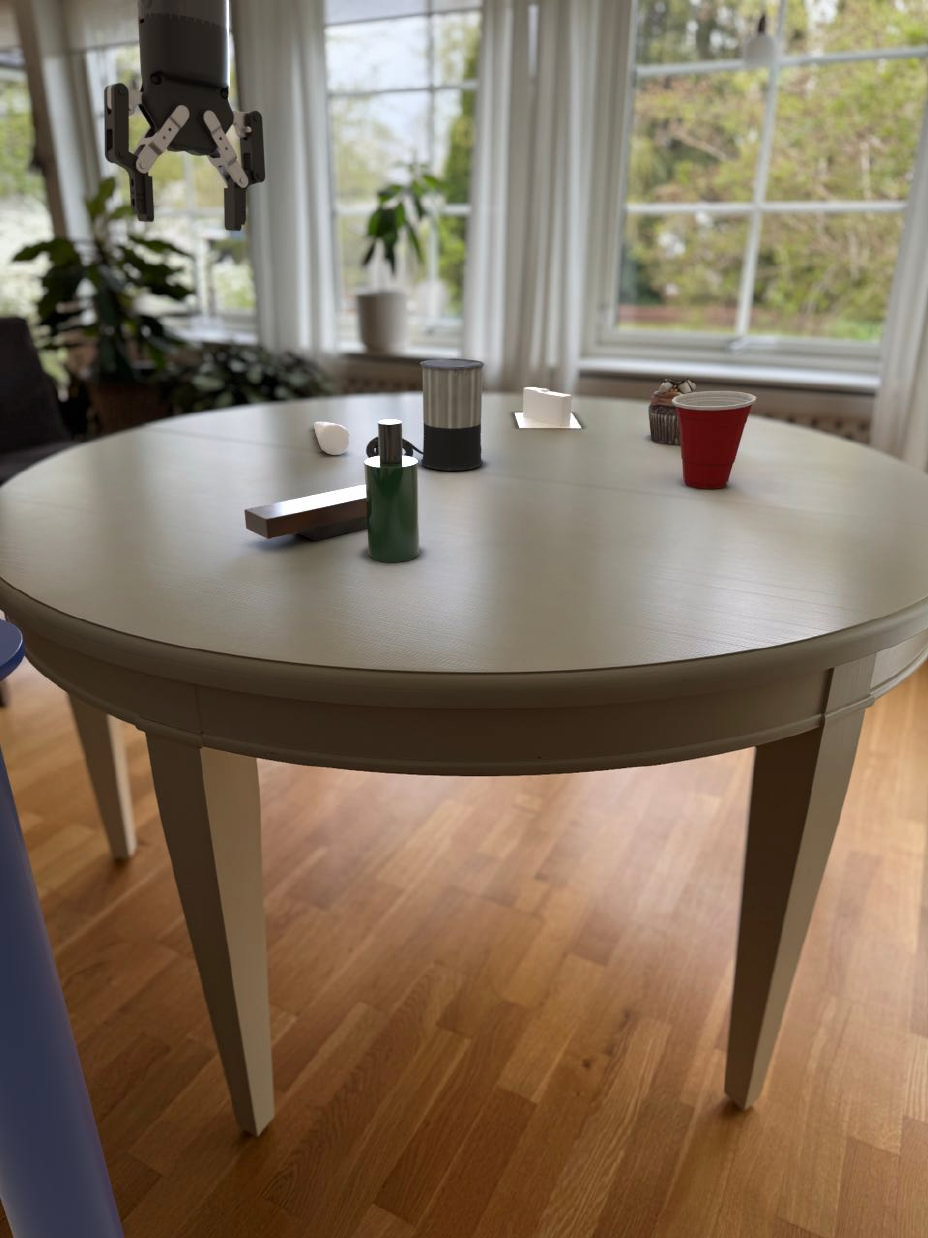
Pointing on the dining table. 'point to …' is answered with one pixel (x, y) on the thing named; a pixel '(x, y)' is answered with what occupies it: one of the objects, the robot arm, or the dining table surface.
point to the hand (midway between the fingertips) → (190, 226)
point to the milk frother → (448, 415)
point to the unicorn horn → (332, 437)
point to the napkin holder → (546, 410)
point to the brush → (311, 515)
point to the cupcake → (667, 410)
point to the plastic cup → (711, 434)
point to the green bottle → (392, 498)
